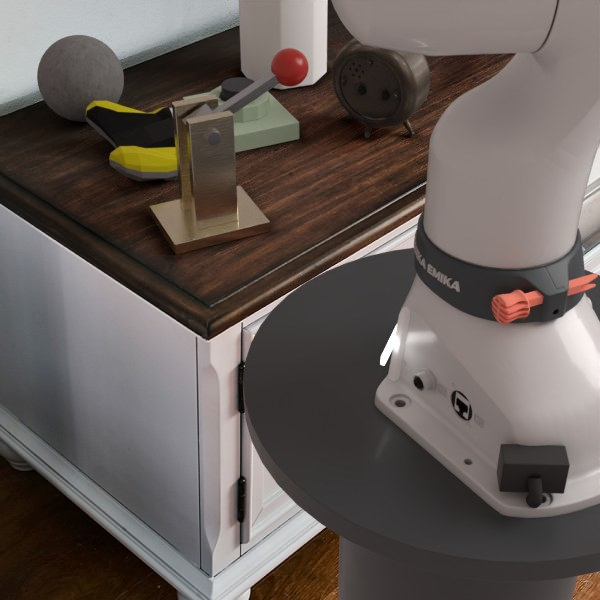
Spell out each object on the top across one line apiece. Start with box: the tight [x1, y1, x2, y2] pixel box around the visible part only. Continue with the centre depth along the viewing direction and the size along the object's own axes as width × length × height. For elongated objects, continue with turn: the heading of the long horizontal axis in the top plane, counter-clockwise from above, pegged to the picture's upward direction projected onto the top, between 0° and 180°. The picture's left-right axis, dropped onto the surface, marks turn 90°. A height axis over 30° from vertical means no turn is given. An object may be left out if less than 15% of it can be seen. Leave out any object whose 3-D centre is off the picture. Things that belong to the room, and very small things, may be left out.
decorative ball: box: [36, 34, 125, 123], centre depth 122 cm, size 10×10×10 cm
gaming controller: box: [86, 101, 178, 182], centre depth 114 cm, size 15×6×10 cm
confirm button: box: [220, 77, 254, 102], centre depth 120 cm, size 4×4×2 cm
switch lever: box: [182, 48, 308, 126], centre depth 99 cm, size 13×4×4 cm, turn 115°
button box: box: [182, 85, 300, 154], centre depth 121 cm, size 12×10×4 cm
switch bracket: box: [149, 94, 271, 255], centre depth 101 cm, size 10×8×13 cm
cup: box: [238, 0, 329, 91], centre depth 130 cm, size 11×11×18 cm
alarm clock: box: [331, 37, 432, 139], centre depth 117 cm, size 11×5×16 cm, turn 59°
